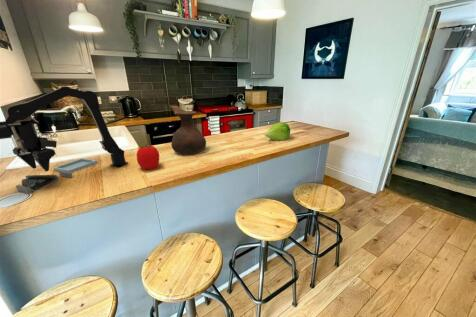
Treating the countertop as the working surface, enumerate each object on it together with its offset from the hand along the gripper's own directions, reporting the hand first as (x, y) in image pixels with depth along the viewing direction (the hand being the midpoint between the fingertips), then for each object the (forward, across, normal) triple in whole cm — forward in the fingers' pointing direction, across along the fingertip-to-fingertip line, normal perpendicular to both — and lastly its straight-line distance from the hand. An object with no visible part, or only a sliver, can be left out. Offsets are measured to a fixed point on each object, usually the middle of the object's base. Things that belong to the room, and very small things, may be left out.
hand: (40, 169), depth 90 cm
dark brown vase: (+8, -38, -60) cm, 71 cm away
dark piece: (+9, 0, -2) cm, 10 cm away
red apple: (+8, -32, -31) cm, 45 cm away
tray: (+7, +7, -18) cm, 21 cm away
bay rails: (+7, -1, 0) cm, 7 cm away
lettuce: (+8, -87, -103) cm, 135 cm away
